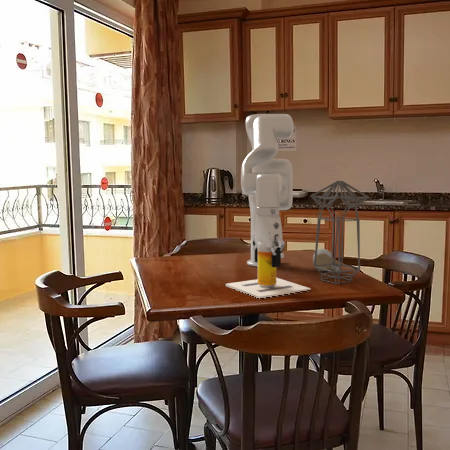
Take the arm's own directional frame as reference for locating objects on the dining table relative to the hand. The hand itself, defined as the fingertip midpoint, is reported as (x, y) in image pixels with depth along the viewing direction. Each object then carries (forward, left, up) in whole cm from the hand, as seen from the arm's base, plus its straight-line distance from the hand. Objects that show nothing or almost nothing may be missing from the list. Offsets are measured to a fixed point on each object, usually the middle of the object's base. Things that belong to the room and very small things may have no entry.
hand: (267, 264), depth 172 cm
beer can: (0, 0, -7) cm, 7 cm away
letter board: (0, 0, -8) cm, 8 cm away
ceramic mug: (-36, -13, -8) cm, 39 cm away
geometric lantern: (-28, +3, -8) cm, 29 cm away
